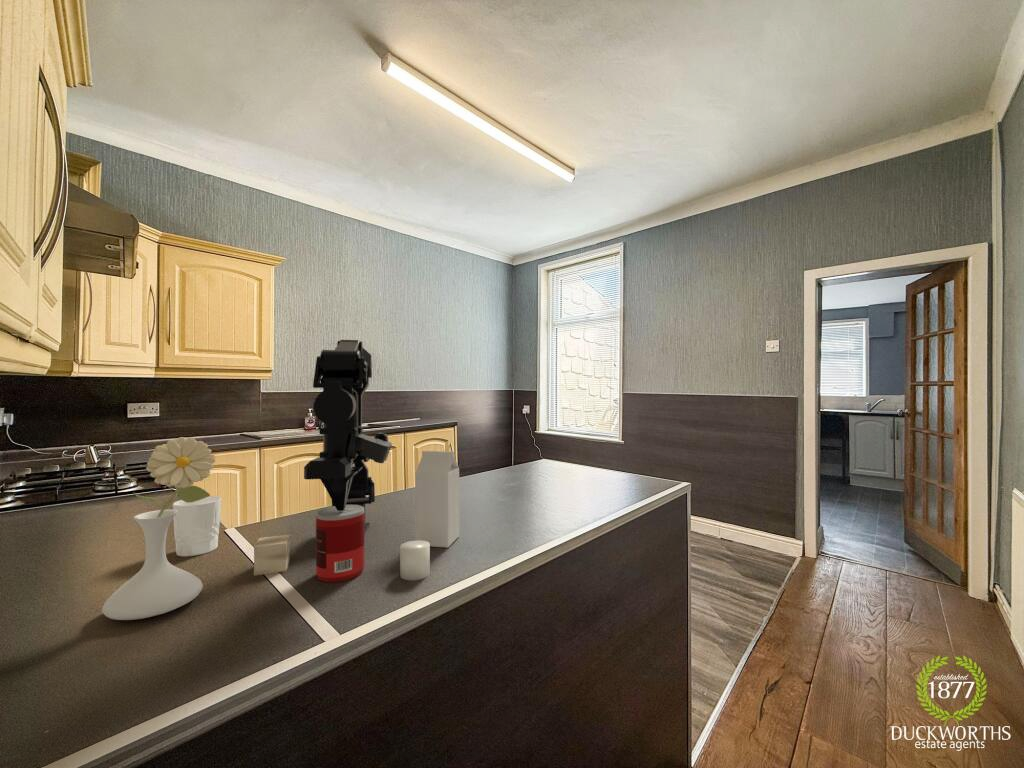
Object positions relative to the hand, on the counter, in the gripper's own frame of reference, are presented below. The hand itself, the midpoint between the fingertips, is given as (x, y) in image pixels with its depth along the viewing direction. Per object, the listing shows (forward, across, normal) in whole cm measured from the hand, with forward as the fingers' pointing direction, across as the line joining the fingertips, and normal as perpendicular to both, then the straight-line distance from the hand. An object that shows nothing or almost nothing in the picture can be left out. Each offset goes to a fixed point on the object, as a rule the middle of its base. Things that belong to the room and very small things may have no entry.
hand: (340, 510), depth 75 cm
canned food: (+11, 0, 0) cm, 11 cm away
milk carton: (+11, +14, -16) cm, 24 cm away
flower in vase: (+11, -9, +23) cm, 27 cm away
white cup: (+11, +15, +32) cm, 37 cm away
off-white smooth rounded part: (+11, -2, -13) cm, 17 cm away
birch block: (+11, +4, +13) cm, 18 cm away
